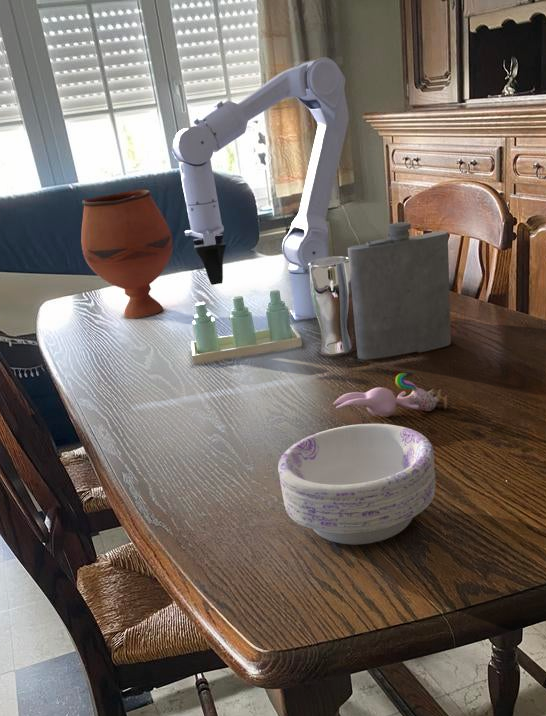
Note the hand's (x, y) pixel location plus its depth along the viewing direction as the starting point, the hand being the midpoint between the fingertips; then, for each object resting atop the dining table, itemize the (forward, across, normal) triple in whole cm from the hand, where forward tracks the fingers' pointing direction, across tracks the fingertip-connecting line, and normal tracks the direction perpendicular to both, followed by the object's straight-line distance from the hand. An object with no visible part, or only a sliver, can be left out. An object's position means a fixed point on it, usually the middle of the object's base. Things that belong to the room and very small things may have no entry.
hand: (215, 279), depth 140 cm
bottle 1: (+10, +13, +3) cm, 17 cm away
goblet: (+11, -29, -17) cm, 35 cm away
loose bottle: (+10, +13, -4) cm, 17 cm away
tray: (+10, +13, +3) cm, 17 cm away
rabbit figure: (+11, +54, +19) cm, 58 cm away
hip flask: (+11, +29, +28) cm, 42 cm away
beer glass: (+11, +23, +18) cm, 31 cm away
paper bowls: (+11, +80, +9) cm, 81 cm away
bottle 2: (+10, +13, +10) cm, 19 cm away
